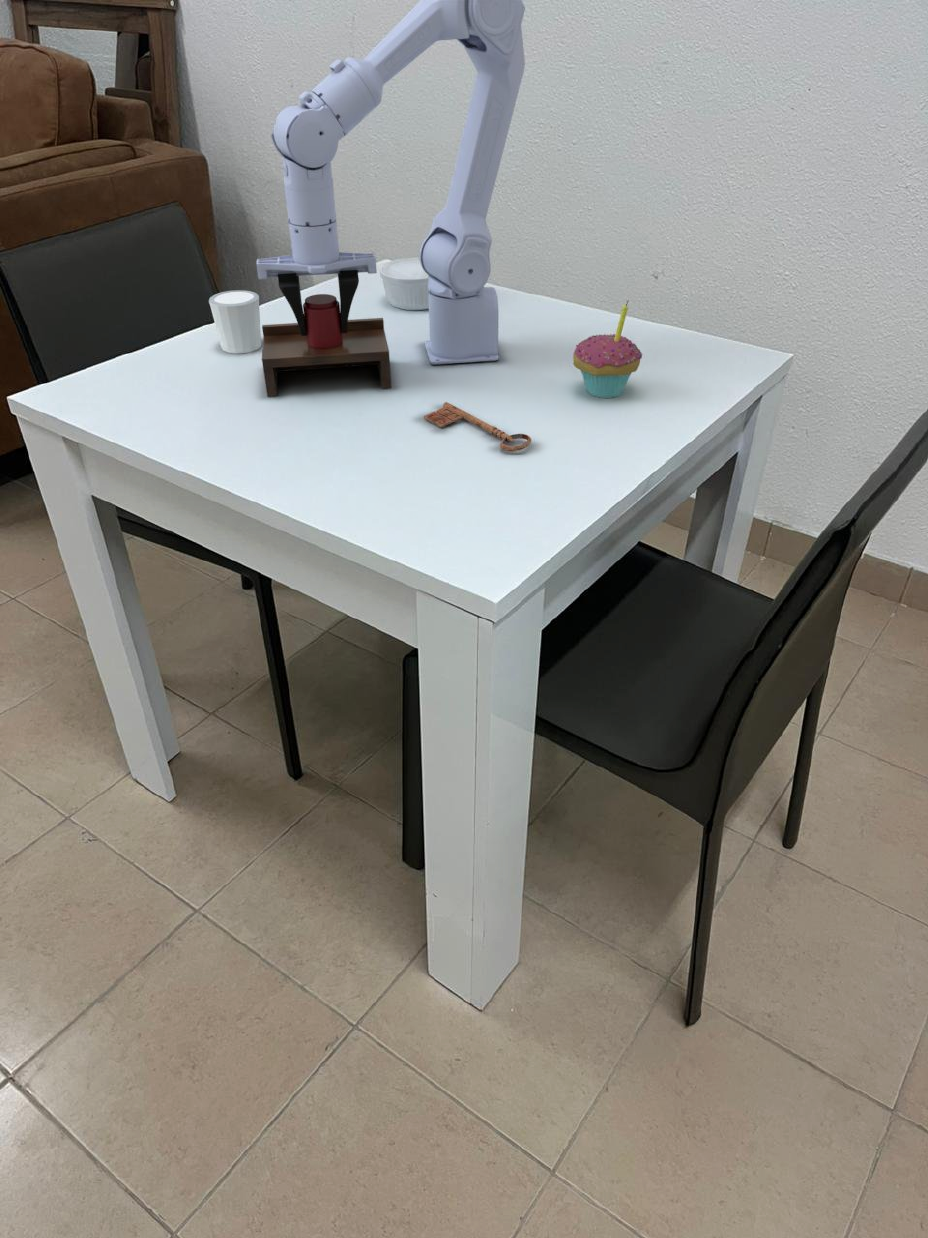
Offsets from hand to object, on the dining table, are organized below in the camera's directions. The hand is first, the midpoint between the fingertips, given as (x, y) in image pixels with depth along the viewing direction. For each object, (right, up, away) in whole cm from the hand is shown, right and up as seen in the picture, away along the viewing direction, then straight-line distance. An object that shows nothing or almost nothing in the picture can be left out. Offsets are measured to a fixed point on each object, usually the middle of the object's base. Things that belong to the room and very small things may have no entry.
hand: (323, 331), depth 119 cm
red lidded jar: (0, -1, +1) cm, 1 cm away
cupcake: (+36, -8, 0) cm, 37 cm away
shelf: (0, -5, +4) cm, 6 cm away
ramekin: (+11, +14, +29) cm, 33 cm away
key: (+20, -15, -9) cm, 26 cm away
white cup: (-14, +2, +14) cm, 20 cm away
